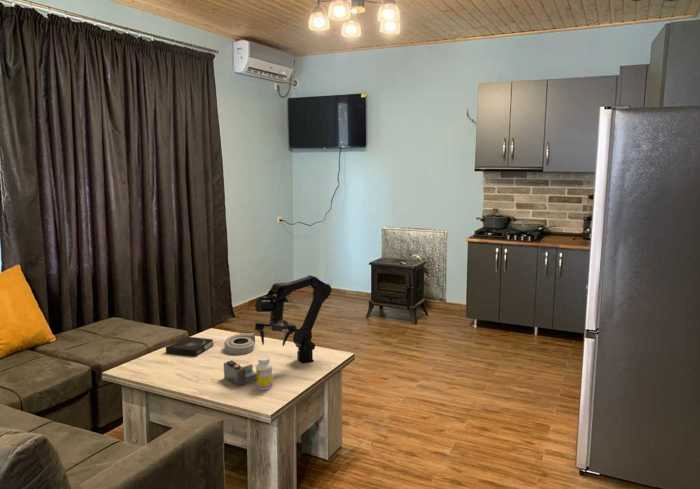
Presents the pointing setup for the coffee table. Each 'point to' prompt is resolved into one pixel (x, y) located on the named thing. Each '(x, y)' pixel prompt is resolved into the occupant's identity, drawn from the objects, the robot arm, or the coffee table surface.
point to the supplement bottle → (264, 373)
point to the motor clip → (238, 373)
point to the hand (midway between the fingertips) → (273, 345)
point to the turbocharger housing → (240, 343)
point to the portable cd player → (189, 346)
